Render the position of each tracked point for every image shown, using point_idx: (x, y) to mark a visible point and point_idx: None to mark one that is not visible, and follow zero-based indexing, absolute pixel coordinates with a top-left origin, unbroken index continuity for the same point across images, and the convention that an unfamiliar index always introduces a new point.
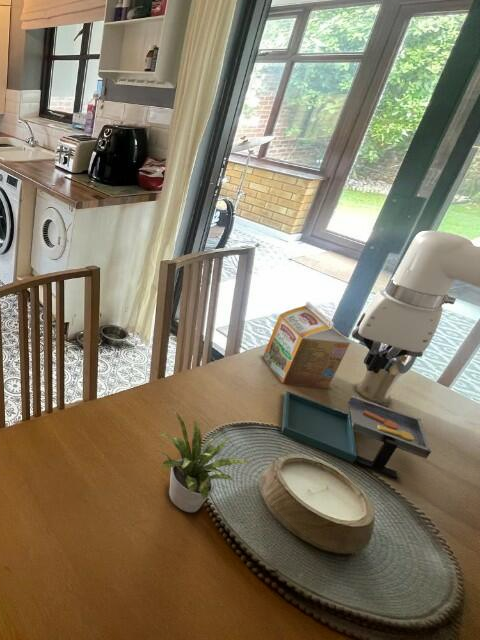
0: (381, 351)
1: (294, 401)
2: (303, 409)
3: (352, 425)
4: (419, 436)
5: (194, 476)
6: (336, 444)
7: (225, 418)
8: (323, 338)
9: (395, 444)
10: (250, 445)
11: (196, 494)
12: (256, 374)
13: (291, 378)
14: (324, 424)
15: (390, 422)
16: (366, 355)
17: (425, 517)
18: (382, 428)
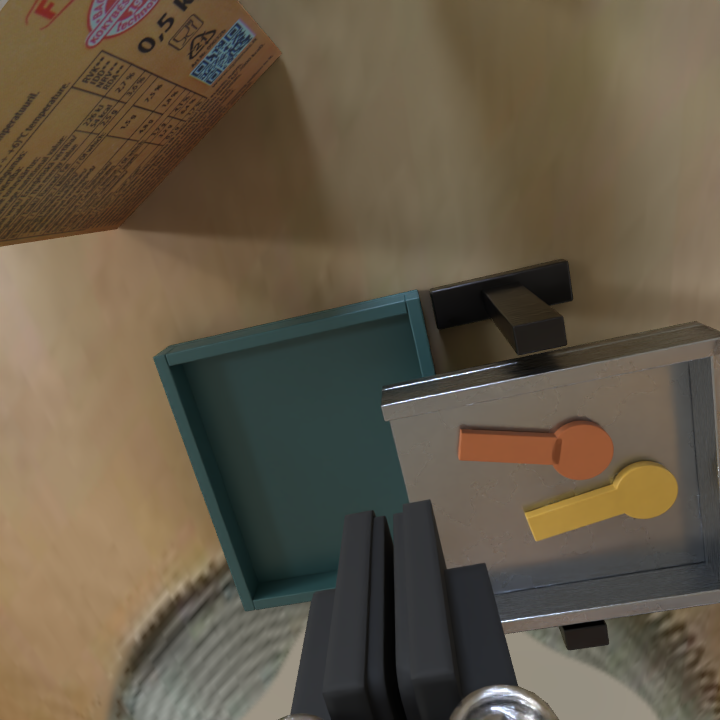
0: (425, 702)
1: (211, 361)
2: (257, 392)
3: None
4: (703, 465)
5: None
6: None
7: (98, 653)
8: None
9: (599, 642)
10: (211, 709)
11: None
12: (8, 264)
13: (120, 206)
14: (348, 425)
15: (578, 446)
16: (305, 642)
17: (674, 625)
18: (546, 531)
